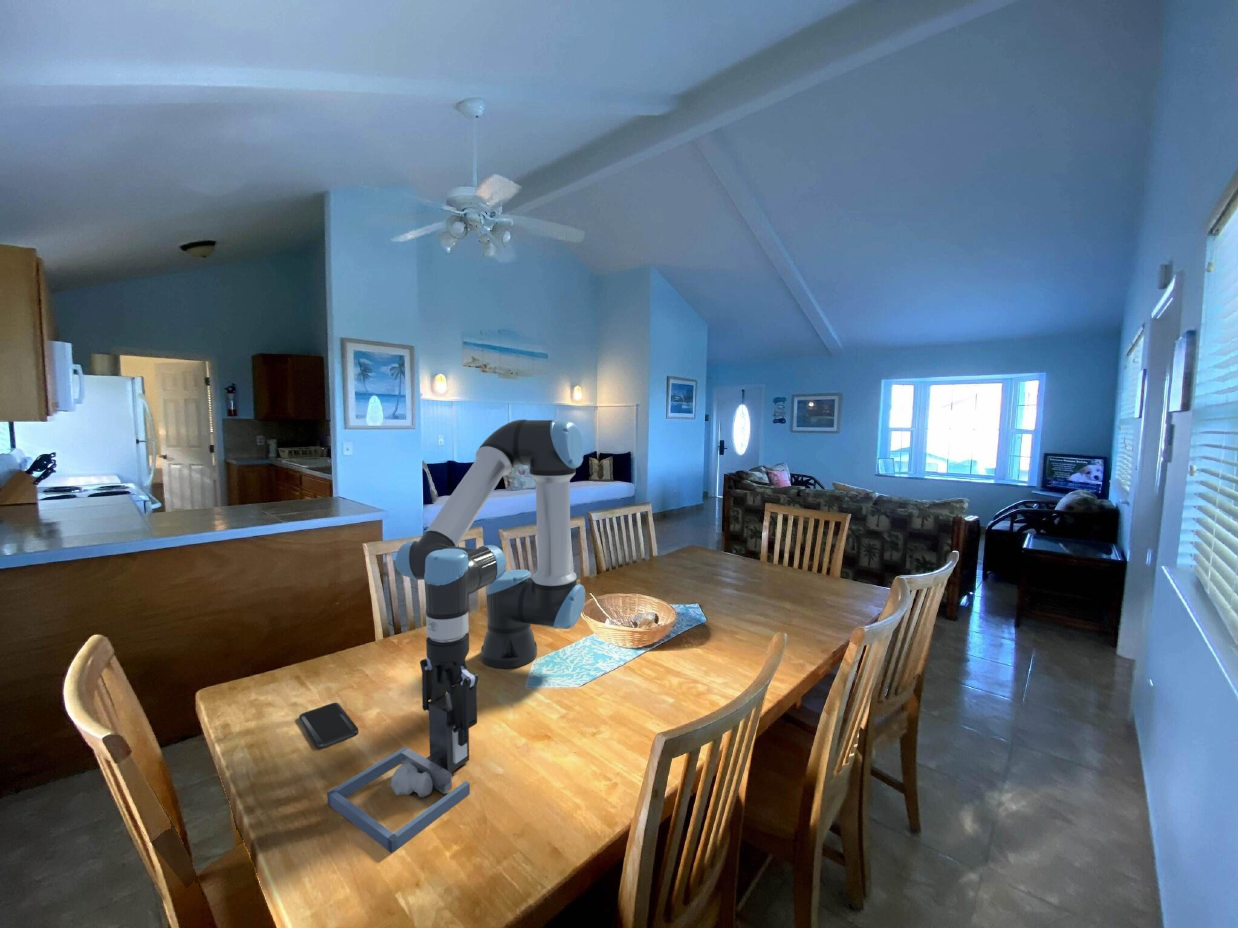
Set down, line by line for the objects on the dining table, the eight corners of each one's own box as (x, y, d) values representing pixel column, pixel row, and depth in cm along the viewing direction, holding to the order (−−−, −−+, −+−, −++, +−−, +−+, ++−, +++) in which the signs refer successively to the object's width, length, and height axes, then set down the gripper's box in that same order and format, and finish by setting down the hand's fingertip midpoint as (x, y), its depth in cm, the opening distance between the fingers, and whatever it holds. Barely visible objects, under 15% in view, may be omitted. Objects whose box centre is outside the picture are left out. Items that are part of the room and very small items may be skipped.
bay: (405, 756, 101) (405, 746, 101) (469, 793, 91) (469, 782, 91) (327, 803, 88) (327, 792, 88) (391, 853, 79) (391, 840, 79)
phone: (317, 747, 102) (297, 714, 113) (318, 752, 102) (298, 719, 113) (360, 730, 108) (337, 700, 118) (360, 735, 108) (337, 705, 118)
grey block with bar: (439, 744, 104) (438, 686, 103) (482, 766, 98) (481, 705, 96) (401, 767, 97) (400, 706, 96) (444, 794, 90) (443, 728, 89)
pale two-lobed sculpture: (387, 795, 92) (411, 771, 96) (416, 813, 88) (439, 787, 92) (379, 777, 91) (404, 754, 95) (408, 795, 87) (432, 769, 91)
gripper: (399, 629, 98) (402, 746, 100) (465, 654, 88) (466, 783, 91) (433, 616, 104) (435, 727, 107) (497, 639, 95) (498, 760, 97)
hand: (449, 753), depth 99 cm, fingers closed on grey block with bar, 5 cm apart
